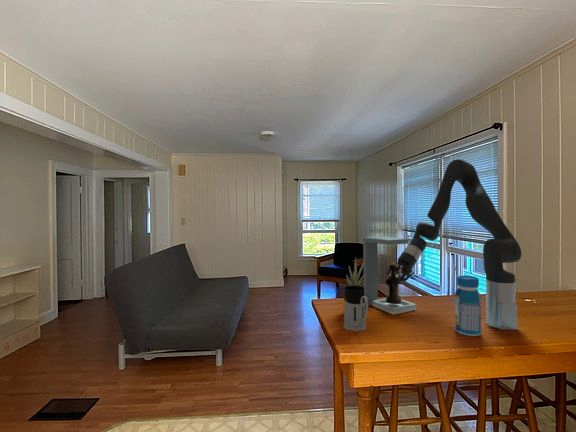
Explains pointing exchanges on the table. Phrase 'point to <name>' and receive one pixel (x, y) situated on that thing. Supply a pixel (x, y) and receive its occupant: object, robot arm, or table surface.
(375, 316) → the table surface
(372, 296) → the overhang shelf
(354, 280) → the potted plant
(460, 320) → the beverage bottle
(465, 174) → the robot arm
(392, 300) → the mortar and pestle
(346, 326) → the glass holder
